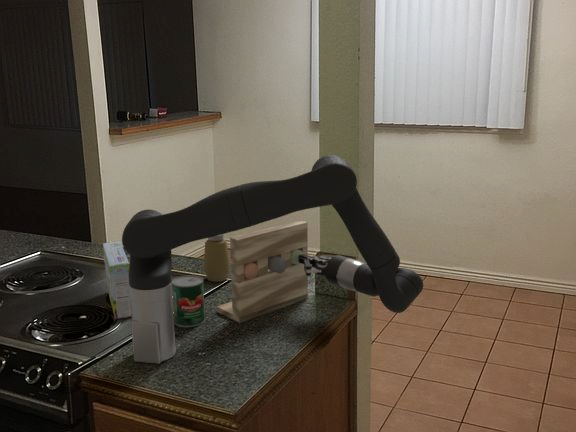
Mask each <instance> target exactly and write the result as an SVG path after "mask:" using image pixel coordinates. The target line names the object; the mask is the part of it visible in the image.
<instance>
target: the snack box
mask: <svg viewBox="0 0 576 432" xmlns="http://www.w3.org/2000/svg"><path fill="white" fill-rule="evenodd" d="M102 249H103V258H104V259H103V261H104V268H105V276H106V277H105V278H106V285H107V287H106V288H107V293H108V296H109V297H108V298H109V300H110V304H111V309H112V313H113V317H114V320H119V319H121V320H122V319H127V318H132V315H131V302H130V289H129V276H128V275H129V268H130V261H129V259H128V257H127V255H126V253H125V249H124V247H123V244H122V241H112V242H105V243H104V242H102Z"/></svg>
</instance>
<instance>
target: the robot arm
mask: <svg viewBox="0 0 576 432" xmlns="http://www.w3.org/2000/svg"><path fill="white" fill-rule="evenodd" d="M357 185H358V179H357V175H356V172H355V171H354V169H353V168H352V167H351V165H350V164H349V163H348V161H346V160H345V159H344V158H342V157H340V156H338V155H334V154H331V155H324V156H322V157H320V158H318V159H317V160H316V161H315V162H314V164H313V166H312V167H311V171H308V172H306V173H303V174H299V175H297V176H294V177H289V178H287V179H281V180H262V181H253V182H252V181H251V182H247V183H243V184H240V185H236V186H232V187H229V188H225V189H222V190H220V191H217V192H214V193H212V194H210V195H208V196H205V198H202V199H201V200H199V201H196V202H195V203H193V204H191V205H189V206H187V207H184V208H182V209H178V210H177V211H173V212H168V213H161V212H159V211H157V210H155V209H143V210H140V211H138V212H137V213H135V214H134V215H133V216H132V217H131V218H130V219H129V220H128V223H126V225H125V227H124V228H123V231H122V235H121V244H122V247H123V249H124V251H126V252H127V253H128V254H129V265H130V268H129V275H128V276H129V289H130V302H131V315H132V317H131V323H130V324H131V336H132V337H131V338H132V349H133V360H134V362H139V363H148V364H150V363H151V364H156V365H157V364H161V363H162V362H164V361H167V360H170V359H171V358H172V357H174V356H175V354H176V351H177V350H176V336H175V335H176V333H175V323H174V307H173V292H172V291H173V290H172V266H173V263H172V262H173V260H172V255H173V254H172V250H174V249H177V248H179V247H181V246H184V245H186V244H189V243H193V242H196V241H200V240H204V239H208V238H210V237H214V236H218V235H221V234H223V235H224V234H228V233H231V232H236V231H240V230H243V229H246V228H250V227H254V226H256V225H259V224H263V223H266V222H269V221H271V220H276V219H279V218H282V217H284V216H287V215H290V214H293V213H296V212H300V211H304V210H310V209H315V208H319V207H320V208H321V207H325V206H332V208H334V210H335V211H336V212H337V214H338V216H339V217H340V219H341V221H343V223H344V225H345V227H346V229H347V231H348V233H349V234H350V236H351V238H352V240H353V243H354V244H355V246H356V248H357V250H358V251H359V252H358V253H360V255H361V257H362V258H363V260H364V262H365V263H364V262H363V261H361V260H357V259H354V258H350V257H346V256H344V255H340V254H338V255H337V254H336V255H331V254H330V255H328V254H327V255H326V254H320V255H317V256H316V255H312V256H311V255H309V254H308V255H305V254H301V255H299V256H298V258H299V263H302V264H304V270H305V273H306V276H308V277H310V276H312V274H313V273H314V274H315V273H316V275H319V276H323V277H325V279H326V280H327V282H328V283H330V284H332V285H335V286H338V287H340V288H343V289H345V290H349V291H354V292H359V293H361V294H364V295H367V296H370V297H379V300H380V302H381V303H382V305H383V306H384V307H385V308H386V309H387V310H389V311H390V312H392V313H394V314H395V313H396V314H401V313H405V311H407V310H408V308H409V307H410V306H411V305H412V304H413V302H415V300H416V299H417V298H418V296H419V295H420V294H421V293H422V291H423V289H424V281H423V279H422V277H421V276H420V274H418V273H417V272H415V271H414V270H412V269H411V268H410V269H409V268H406V267H400V264H401V258H400V256H399V255H398V253H397V251H396V249H395V248H394V246H393V244H392V243H391V241H390V238H388V236H387V235H386V233H385V232H384V229H382V227H381V226H380V225H379V223H378V221H377V220H376V219H375V218H374V216H373V214H372V213H371V211H370V210H369V208H368V207H367V205H366V204H365V202H364V200H363V199H362V196H361V195H360V192H359V191H358V188H357Z"/></svg>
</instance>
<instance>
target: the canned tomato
mask: <svg viewBox="0 0 576 432" xmlns="http://www.w3.org/2000/svg"><path fill="white" fill-rule="evenodd" d="M171 281H172V299H173V316H174V325H176V326H177V327H179V328H180V327H182V328H192V327H193V328H194V327H197V326H200V325H202V324H204V323H205V321H206V315H205V314H206V313H205V293H204V278H203V277H201V276H199V275H192V274H191V275H190V274H189V275H187V274H186V275H181V276H177V277H175V278H172V279H171Z"/></svg>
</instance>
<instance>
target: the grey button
mask: <svg viewBox="0 0 576 432" xmlns="http://www.w3.org/2000/svg"><path fill="white" fill-rule="evenodd" d="M286 267H287V262H286V260H285V259H283V258H280V257H277V256H271V257H268V270H270V271H273V272H276V273H279V274H281V273H283V272H284V271H285V269H286Z"/></svg>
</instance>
